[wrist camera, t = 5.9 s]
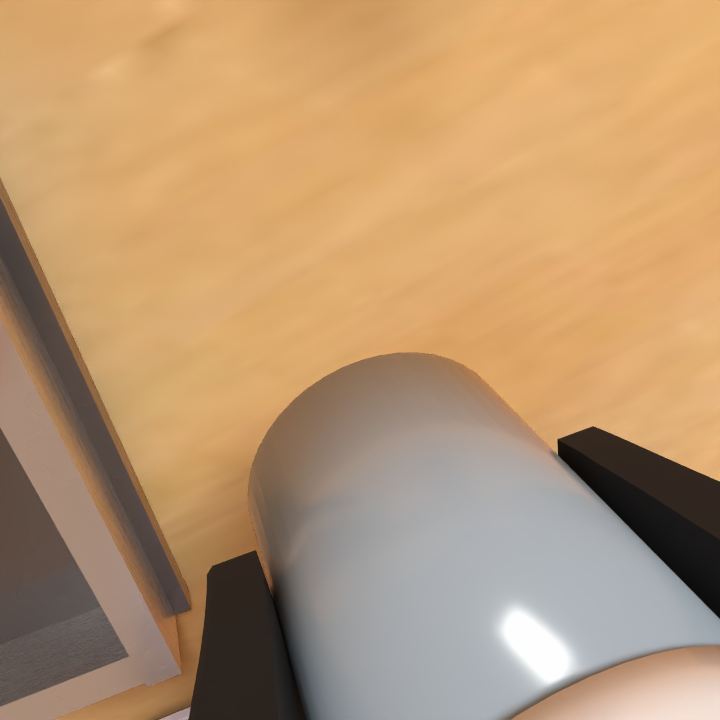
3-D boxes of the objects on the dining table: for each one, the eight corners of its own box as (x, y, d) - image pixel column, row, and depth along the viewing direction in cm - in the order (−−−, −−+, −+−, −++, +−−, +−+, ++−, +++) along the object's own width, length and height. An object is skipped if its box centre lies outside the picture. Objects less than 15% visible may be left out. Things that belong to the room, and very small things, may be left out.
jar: (520, 528, 13) (814, 907, 8) (281, 622, 12) (420, 1125, 7) (503, 308, 11) (916, 631, 5) (202, 405, 10) (322, 915, 4)
